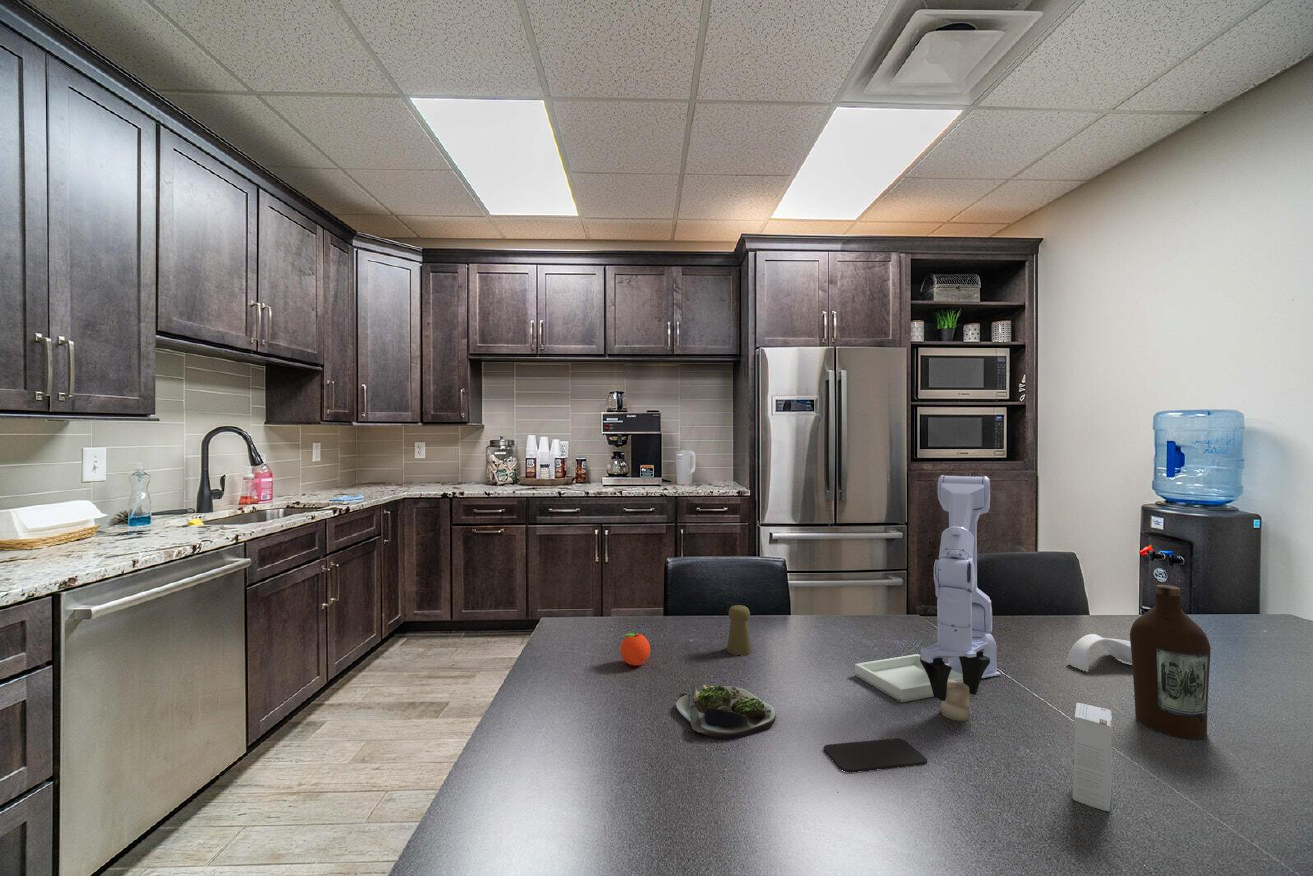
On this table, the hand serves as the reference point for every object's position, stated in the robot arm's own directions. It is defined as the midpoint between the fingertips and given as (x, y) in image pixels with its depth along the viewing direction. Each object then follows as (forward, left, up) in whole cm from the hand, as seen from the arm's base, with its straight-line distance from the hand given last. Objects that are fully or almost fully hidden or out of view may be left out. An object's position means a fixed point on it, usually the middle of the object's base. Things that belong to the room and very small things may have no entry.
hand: (955, 695), depth 102 cm
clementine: (+50, -43, -4) cm, 66 cm away
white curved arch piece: (-56, -6, -4) cm, 56 cm away
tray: (-3, -14, -4) cm, 15 cm away
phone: (+24, +6, -4) cm, 25 cm away
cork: (+23, -42, -4) cm, 48 cm away
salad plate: (+41, -14, -4) cm, 43 cm away
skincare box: (+2, +25, -4) cm, 25 cm away
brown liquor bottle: (-33, +16, -4) cm, 37 cm away
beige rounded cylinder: (0, 0, -4) cm, 4 cm away
